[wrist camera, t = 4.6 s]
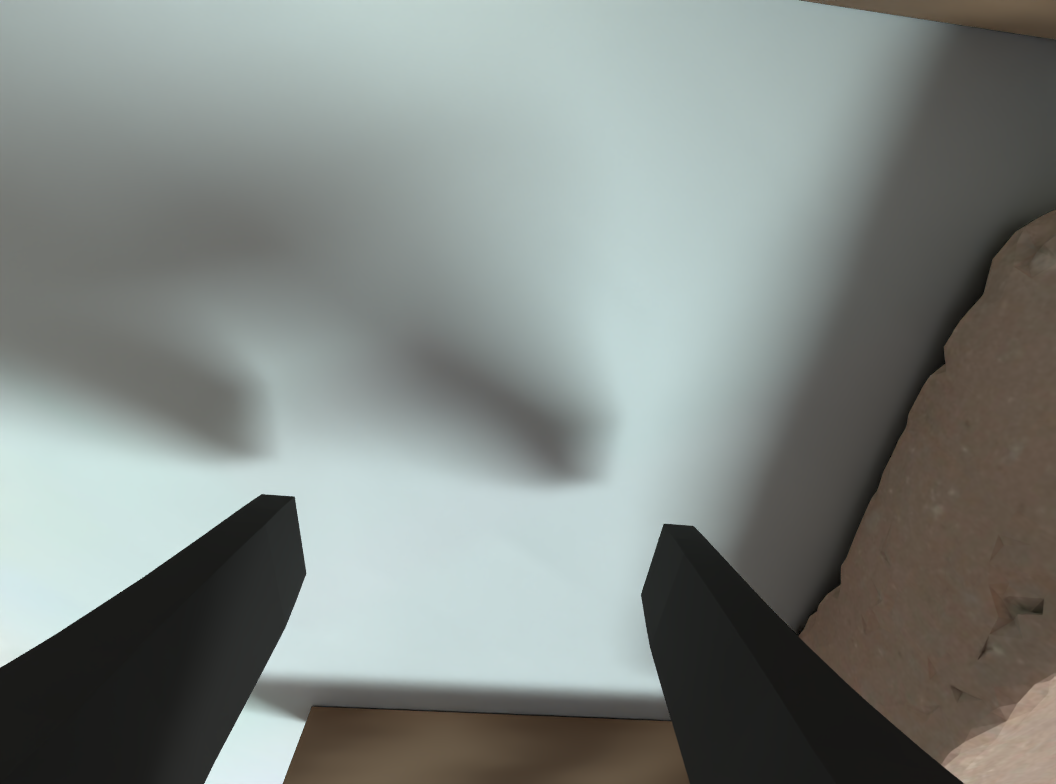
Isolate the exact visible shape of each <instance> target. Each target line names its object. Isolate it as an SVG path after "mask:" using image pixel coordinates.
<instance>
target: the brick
mask: <svg viewBox="0 0 1056 784" xmlns="http://www.w3.org/2000/svg"><path fill="white" fill-rule="evenodd" d="M944 355H945V364H944V365H943V366H942V367H940V368H939V369H938V370H937V371H936V372H934V373H933V374H932V375H931V376H929V378H928V379H927V381H926V382H925V384H924V386H923V387H922V389H921V391H920V393H919V395H918V397H917V399H916V400H915V402H914V404H913V406H912V408H911V410H910V412H909V414H908V420H907V426H906V428H905V430H904V431H903V433H902V435H901V436H900V438H899V440H898V442H897V444H896V447H895V449H894V451H893V453H892V455H891V457H890V459H889V461H888V463H887V465H886V467H885V469H884V472H883V474H882V477H881V480H880V484H879V487H878V490H877V491H876V493H875V494H874V495H873V497H872V498H871V500H870V503H869V505H868V507H867V509H866V511H865V514H864V516H863V518H862V520H861V523H860V525H859V528H858V530H857V532H856V535H855V537H854V539H853V542H852V544H851V547H850V550H849V552H848V555H847V557H846V559H845V561H844V562H843V564H842V565H841V584H840V585H839V586H838V587H836V588H835V589H834V590H832V591H831V592H830V593H828V594H827V595H826V596H825V598H824V599H823V600H822V601H821V603H820V604H819V606H818V610H817V611H816V612H815V613H814V614H812V615H811V616H810V617H809V619H808V621H807V623H806V626H805V628H804V630H803V631H802V632H801V633H800V634H799V636H798V637H799V638H800V639H801V640H802V641H804V642H805V643H806V644H807V645H808V646H809V647H810V648H811V649H812V650H813V651H814V652H815V653H816V654H817V655H818V656H819V657H820V658H821V659H822V660H823V661H824V662H825V663H826V664H827V665H828V666H829V667H831V668H832V669H833V670H834V671H835V672H836V673H837V674H838V675H839V676H840V677H841V678H842V679H843V680H844V681H845V682H846V683H847V684H848V685H850V686H851V687H852V688H853V689H854V690H855V691H856V692H857V693H858V694H859V695H861V696H862V697H863V698H864V699H865V700H866V701H867V702H868V703H869V704H870V705H872V706H873V707H874V708H875V709H876V710H877V711H879V712H880V713H881V714H882V715H883V716H884V717H886V718H887V719H888V720H889V721H890V722H891V723H892V724H894V725H895V726H896V727H897V728H898V729H899V730H901V731H902V732H903V733H904V734H905V735H906V736H907V737H909V738H910V739H911V740H912V741H913V742H914V743H916V744H917V745H918V746H919V747H920V748H921V749H923V750H924V751H925V752H926V753H927V754H929V755H930V756H931V757H932V758H934V759H935V760H936V761H937V762H938V763H940V764H941V765H942V766H943V767H944V768H946V769H947V770H948V771H949V772H951V773H952V774H953V775H954V776H955V777H957V778H958V779H959V780H961V781H962V782H963V783H964V784H1056V209H1055V210H1053V211H1051V212H1049V213H1047V214H1045V215H1043V216H1041V217H1039V218H1037V219H1035V220H1034V221H1032V222H1031V223H1029V224H1027V225H1026V226H1024V227H1022V228H1021V229H1019V230H1017V231H1016V232H1015V233H1014V234H1013V235H1012V237H1011V238H1010V239H1009V240H1008V241H1007V243H1006V244H1005V245H1004V246H1003V247H1002V249H1001V250H1000V251H999V252H998V253H997V255H996V256H995V257H994V258H993V259H992V263H991V267H990V271H989V275H988V279H987V282H986V286H985V290H984V294H983V295H982V296H981V298H980V299H979V300H978V301H977V302H976V303H975V304H974V305H973V307H972V308H971V309H970V310H969V311H968V312H967V313H966V314H965V316H964V317H963V318H962V319H961V320H960V321H959V323H958V325H957V326H956V328H955V329H954V331H953V333H952V334H951V336H950V338H949V339H948V341H947V342H946V344H945V346H944Z"/></svg>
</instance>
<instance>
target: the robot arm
mask: <svg viewBox="0 0 1056 784" xmlns="http://www.w3.org/2000/svg"><path fill="white" fill-rule="evenodd" d="M305 576H306V568H305V562H304V555H303V549H302V542H301V536H300V529H299V523H298V516H297V509H296V503H295V497H292V496H278V495H265V494H261V495H260V496H258V497H257V498H255V499H254V500H252V501H251V502H250V503H248V504H247V505H245V506H244V507H242V508H241V509H240V510H238V511H237V512H235V513H234V514H232V515H231V516H230V517H228V518H227V519H225V520H224V521H223V522H221V523H220V524H218V525H217V526H216V527H214V528H213V529H212V530H210V531H209V532H207V533H206V534H205V535H203V536H202V537H200V538H199V539H198V540H196V541H195V542H193V543H192V544H190V545H189V546H188V547H186V548H185V549H183V550H182V551H180V552H179V553H178V554H176V555H175V556H173V557H172V558H170V559H169V560H168V561H166V562H165V563H163V564H162V565H160V566H159V567H157V568H156V569H155V570H153V571H152V572H150V573H149V574H147V575H146V576H145V577H143V578H142V579H140V580H139V581H137V582H136V583H134V584H133V585H131V586H129V587H128V588H126V589H125V590H123V591H122V592H120V593H119V594H117V595H116V596H114V597H113V598H111V599H110V600H108V601H106V602H105V603H103V604H102V605H100V606H99V607H97V608H96V609H94V610H93V611H91V612H90V613H88V614H86V615H85V616H83V617H82V618H80V619H79V620H77V621H76V622H74V623H73V624H71V625H70V626H68V627H67V628H65V629H63V630H62V631H60V632H59V633H57V634H55V635H54V636H52V637H51V638H49V639H47V640H46V641H44V642H43V643H41V644H39V645H38V646H36V647H34V648H33V649H31V650H29V651H28V652H26V653H24V654H23V655H21V656H19V657H18V658H16V659H14V660H13V661H11V662H9V663H8V664H6V665H4V666H2V667H1V668H0V784H204V783H205V781H206V779H207V777H208V775H209V773H210V770H211V768H212V766H213V764H214V762H215V760H216V759H217V757H218V755H219V753H220V751H221V749H222V747H223V745H224V743H225V741H226V740H227V738H228V736H229V734H230V732H231V730H232V728H233V726H234V724H235V723H236V721H237V719H238V717H239V715H240V713H241V711H242V709H243V707H244V706H245V704H246V702H247V700H248V698H249V696H250V694H251V692H252V690H253V689H254V687H255V685H256V683H257V681H258V679H259V677H260V675H261V673H262V672H263V670H264V668H265V666H266V664H267V662H268V660H269V658H270V656H271V654H272V652H273V650H274V648H275V647H276V645H277V643H278V641H279V639H280V637H281V635H282V633H283V631H284V629H285V627H286V625H287V622H288V620H289V617H290V615H291V612H292V610H293V607H294V605H295V602H296V600H297V597H298V594H299V592H300V589H301V586H302V584H303V581H304V578H305ZM641 597H642V603H643V609H644V616H645V622H646V627H647V633H648V638H649V644H650V648H651V652H652V656H653V659H654V663H655V666H656V670H657V673H658V677H659V680H660V684H661V687H662V690H663V694H664V697H665V701H666V704H667V707H668V711H669V714H670V718H671V721H672V724H673V728H674V731H675V735H676V738H677V741H678V745H679V748H680V752H681V755H682V758H683V762H684V765H685V769H686V772H687V775H688V779H689V782H690V784H964V783H963V782H962V781H961V780H959V779H958V778H957V777H955V776H954V775H953V774H952V773H951V772H949V771H948V770H947V769H946V768H944V767H943V766H942V765H941V764H940V763H938V762H937V761H936V760H935V759H934V758H932V757H931V756H930V755H929V754H927V753H926V752H925V751H924V750H923V749H921V748H920V747H919V746H918V745H917V744H916V743H914V742H913V741H912V740H911V739H910V738H909V737H907V736H906V735H905V734H904V733H903V732H902V731H901V730H899V729H898V728H897V727H896V726H895V725H894V724H892V723H891V722H890V721H889V720H888V719H887V718H886V717H884V716H883V715H882V714H881V713H880V712H879V711H877V710H876V709H875V708H874V707H873V706H872V705H870V704H869V703H868V702H867V701H866V700H865V699H864V698H863V697H862V696H861V695H859V694H858V693H857V692H856V691H855V690H854V689H853V688H852V687H851V686H850V685H848V684H847V683H846V682H845V681H844V680H843V679H842V678H841V677H840V676H839V675H838V674H837V673H836V672H835V671H834V670H833V669H832V668H831V667H829V666H828V665H827V664H826V663H825V662H824V661H823V660H822V659H821V658H820V657H819V656H818V655H817V654H816V653H815V652H814V651H813V650H812V649H811V648H810V647H809V646H808V645H807V644H806V643H805V642H804V641H802V640H801V639H800V638H799V637H798V636H797V635H796V634H795V633H794V632H793V631H792V630H791V629H790V628H789V627H788V626H787V624H786V623H785V622H784V621H783V620H782V619H781V618H780V617H779V616H778V615H777V614H776V613H775V612H774V611H773V610H772V609H771V608H770V607H769V606H768V605H767V604H766V603H765V602H764V601H763V600H762V599H761V598H760V597H759V595H758V594H757V593H756V592H755V591H754V590H753V589H752V588H751V587H750V586H749V585H748V584H747V583H746V582H745V581H744V579H743V578H742V577H741V576H740V575H739V574H738V573H737V572H736V571H735V570H734V569H733V568H732V567H731V565H730V564H729V563H728V562H727V561H726V560H725V559H724V558H723V557H722V556H721V555H720V554H719V552H718V551H717V550H716V549H715V548H714V547H713V546H712V545H711V544H710V543H709V542H708V541H707V540H706V538H705V537H704V536H703V535H702V534H701V533H700V532H699V531H698V530H697V529H696V528H695V527H694V526H687V525H673V524H664V525H663V528H662V531H661V534H660V537H659V540H658V543H657V547H656V550H655V553H654V556H653V559H652V562H651V565H650V568H649V572H648V575H647V578H646V581H645V584H644V587H643V590H642V593H641Z"/></svg>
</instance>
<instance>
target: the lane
mask: <svg viewBox="0 0 1056 784" xmlns="http://www.w3.org/2000/svg"><path fill="white" fill-rule="evenodd" d="M801 1H808V2H814V3H821V4H827V5H834V6H840V7H847V8H853V9H860V10H866V11H873V12H879V13H886V14H892V15H899V16H905V17H912V18H918V19H925V20H931V21H938V22H944V23H951V24H957V25H964V26H970V27H977V28H983V29H990V30H997V31H1003V32H1010V33H1016V34H1023V35H1029V36H1036V37H1042V38H1049V39H1055V40H1056V0H801ZM283 784H690V782H689V779H688V775H687V772H686V769H685V765H684V762H683V758H682V755H681V752H680V748H679V745H678V741H677V738H676V735H675V731H674V728H673V724H672V721H651V720H627V719H602V718H578V717H553V716H529V715H505V714H480V713H456V712H431V711H407V710H382V709H358V708H334V707H311V710H310V713H309V715H308V718H307V721H306V723H305V726H304V729H303V731H302V734H301V737H300V739H299V742H298V745H297V747H296V750H295V753H294V755H293V758H292V761H291V763H290V766H289V769H288V771H287V774H286V776H285V779H284V782H283Z"/></svg>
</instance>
